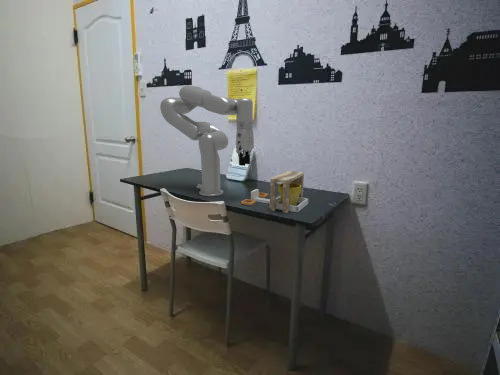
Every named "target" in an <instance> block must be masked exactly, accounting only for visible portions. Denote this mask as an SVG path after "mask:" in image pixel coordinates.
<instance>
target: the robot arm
mask: <svg viewBox="0 0 500 375" xmlns="http://www.w3.org/2000/svg"><path fill="white" fill-rule="evenodd" d="M178 96H179V97H165V98H164V99H162V100H161V102H160V104H159V105H160V108H159V109H160V113H161V115H162V117H163V118H164V120H165V121H166V122H167V123H168V124H169V125H171V126H172V127H173V128H175V129H176V130H177V131H179V132H180V133H182V134H184V135H185V137H187V138H189V139H190V140H192V141H198V147H199V153H200V164H201V167H200V168H201V183H197V185H196V188H197V189H200V191H199V192H198V194H199V195H200V196H202V197H203V196H204V197H218V196H221V195H224V190H223V189H221V161H220V160H221V159H220V155H219V152H218V151H223V150H224V149H226V148H227V147H228V145H229V138H228V135H227V134H226V133H224V132H223V131H222V130H221V129H219V128H218V127H216V126H215V125H213V124H212V123H210V122H207V121H195V120H193V119H192V118H190V117H189V116H187V115H186V114H189V113H191V112H192V111H193V110H194V109H196V108H197V107H199V108H203V109H204V110H206V111H208V112H211V113H214V114H218V115H222V116H228V115H229V116H235V115H236V134H235V135H236V136H235V149H236V150H235V152H236V153H237V157H238V165H239V166H242V167H243V166H244V167H245V166H246V165H250V164H251V154H252V150H254V148H255V142H254V140H255V138H254V129H253V122H254V121H253V117H254V113H253V111H254V110H253V108H254V106H253V103H254V102H253V100H252V98H231V97H221V96H217V95H214V94H212V93H211V91H209V90H207V89H203V88H202V87H200V86H194V85H183V86H182V87H181V88H180V89H179V91H178Z"/></svg>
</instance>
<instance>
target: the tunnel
mask: <svg viewBox="0 0 500 375" xmlns="http://www.w3.org/2000/svg"><path fill="white" fill-rule="evenodd" d="M304 176H305V172H303V171H295V170H294V171H293V170H286V171H284V172H282V173H280V174H278V175H275V176H273V177H270V179H269V180H270V181H269V182H270V183H269V184H270V185H269V186H270V187H269V189H270V190H269V199H270V208H269V211H271V212H272V211H274V212H275V211H276V210H277V209H276V198H277V185H278V184H277V183H279V184H281V183H283V210H282V213H284V214H287V213H289V212H290V211H289V187H290V183H295V184H299V185H301V193H300V194H299V197H301V198H304V197H303V195H304V194H303V193H304V179H305V178H304Z"/></svg>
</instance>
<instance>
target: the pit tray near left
mask: <svg viewBox="0 0 500 375" xmlns="http://www.w3.org/2000/svg"><path fill="white" fill-rule="evenodd" d="M268 197H269V193H266V192H260V191H259V198H265V199H267V198H268Z"/></svg>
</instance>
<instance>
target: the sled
mask: <svg viewBox="0 0 500 375" xmlns="http://www.w3.org/2000/svg"><path fill="white" fill-rule="evenodd" d="M259 192H260V190H259V189H258V188H255V189H253V190H251V191H250V200H256V203H264V204H268V208H269V209H270V198H259ZM308 204H309V198H307V197H303V198H301V197H298V201H297V205H296V206H293V205H289V212H292V213H293V212H294V213H299V212H301V210H302V209H305V207H306V206H307V205H308ZM276 210H281V211H283V204H281V198H280V195H278V196H276Z"/></svg>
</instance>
